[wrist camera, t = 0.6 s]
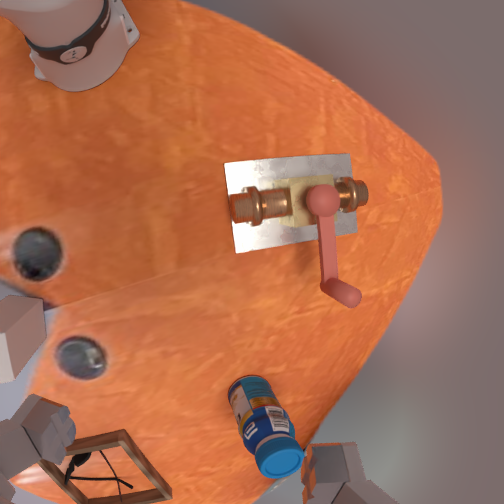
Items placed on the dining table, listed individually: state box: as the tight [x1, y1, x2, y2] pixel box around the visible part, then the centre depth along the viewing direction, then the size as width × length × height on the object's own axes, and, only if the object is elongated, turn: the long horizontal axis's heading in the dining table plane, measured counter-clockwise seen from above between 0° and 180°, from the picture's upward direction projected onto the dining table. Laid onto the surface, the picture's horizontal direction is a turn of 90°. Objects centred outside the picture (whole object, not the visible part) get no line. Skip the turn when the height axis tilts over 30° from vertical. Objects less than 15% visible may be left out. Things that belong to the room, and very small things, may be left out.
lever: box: [306, 184, 362, 308], centre depth 41 cm, size 16×4×7 cm, turn 8°
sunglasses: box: [64, 450, 133, 502], centre depth 49 cm, size 17×14×5 cm
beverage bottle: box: [228, 376, 305, 478], centre depth 46 cm, size 8×8×20 cm
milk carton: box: [0, 295, 46, 384], centre depth 35 cm, size 7×7×19 cm
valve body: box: [224, 154, 368, 253], centre depth 48 cm, size 22×14×9 cm, turn 98°
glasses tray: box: [37, 429, 173, 504], centre depth 50 cm, size 21×24×4 cm
